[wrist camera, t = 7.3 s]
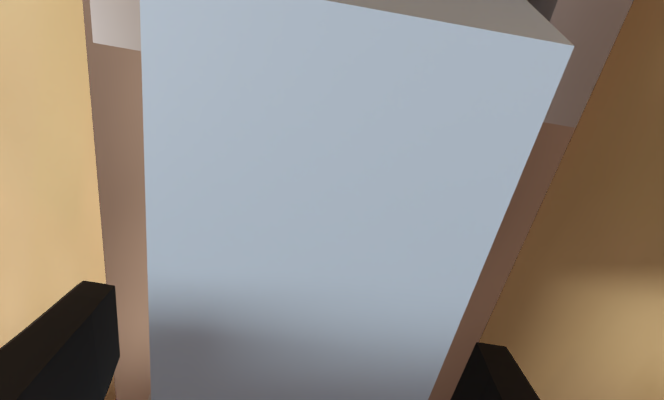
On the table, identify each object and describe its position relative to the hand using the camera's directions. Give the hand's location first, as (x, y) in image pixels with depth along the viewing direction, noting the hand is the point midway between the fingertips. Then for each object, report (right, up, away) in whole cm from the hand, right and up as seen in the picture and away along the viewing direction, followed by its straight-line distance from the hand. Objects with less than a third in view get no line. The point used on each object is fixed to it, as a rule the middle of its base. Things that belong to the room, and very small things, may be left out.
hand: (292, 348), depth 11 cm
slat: (0, +2, +2) cm, 3 cm away
